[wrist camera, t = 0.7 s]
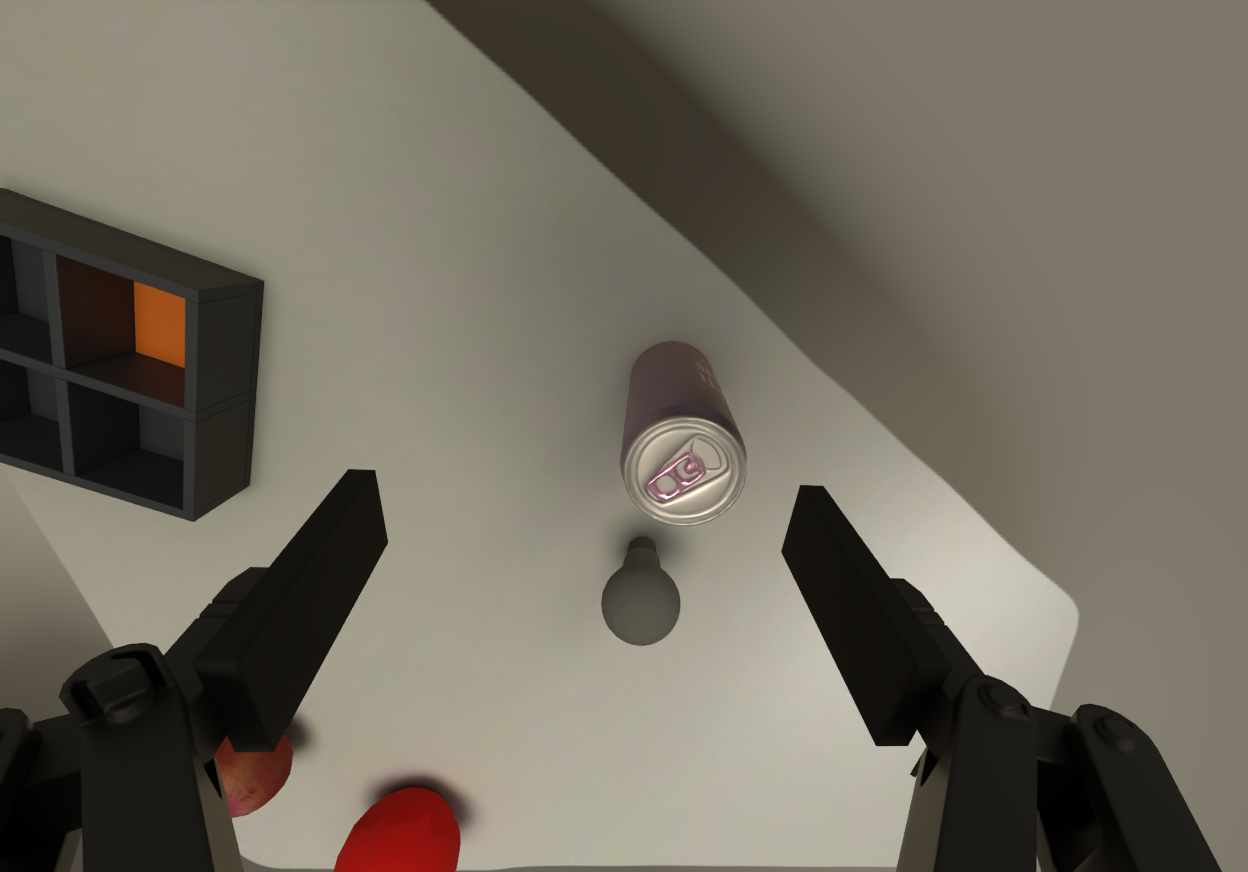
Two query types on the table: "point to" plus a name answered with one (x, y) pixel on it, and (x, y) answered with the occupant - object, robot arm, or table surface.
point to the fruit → (253, 775)
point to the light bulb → (641, 597)
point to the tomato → (403, 836)
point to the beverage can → (680, 439)
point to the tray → (124, 362)
